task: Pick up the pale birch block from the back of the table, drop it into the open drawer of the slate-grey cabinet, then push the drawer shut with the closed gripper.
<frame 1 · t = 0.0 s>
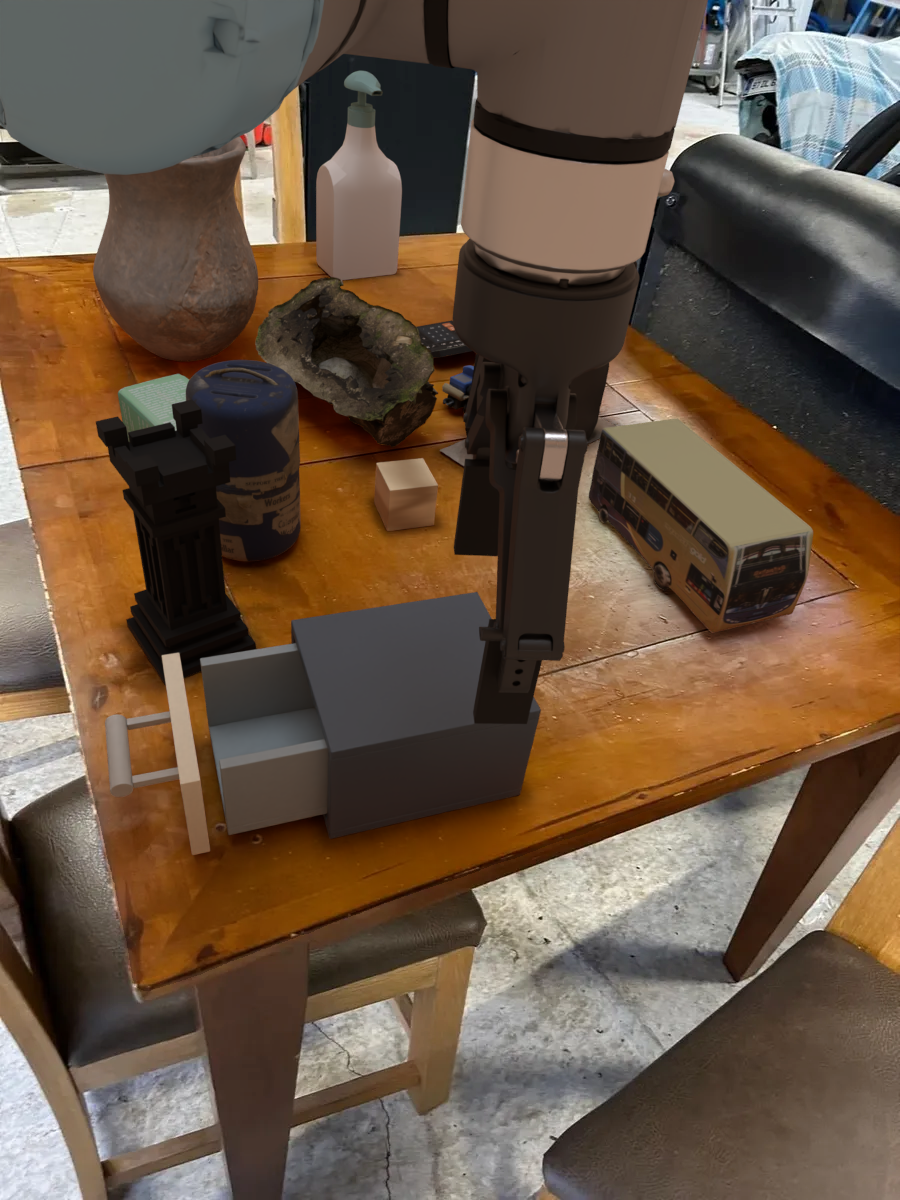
hand: (486, 627, 50), 20 cm above the table, tool pointing down, fingers open, 13 cm apart
cabinet: (403, 750, 69), on the table
hollow geode rock: (348, 414, 106), on the table
canister: (251, 540, 86), on the table
box: (186, 468, 94), on the table
chess piece: (191, 639, 75), on the table
soap bottle: (359, 273, 139), on the table
vase: (186, 351, 114), on the table
block: (403, 514, 92), on the table
drawer: (244, 740, 62), point 5 cm above the table, slide at 8.0 cm
calculator: (445, 349, 122), on the table
shoulder bag: (533, 441, 106), on the table
toy train: (504, 391, 114), on the table
toy bus: (677, 560, 91), on the table
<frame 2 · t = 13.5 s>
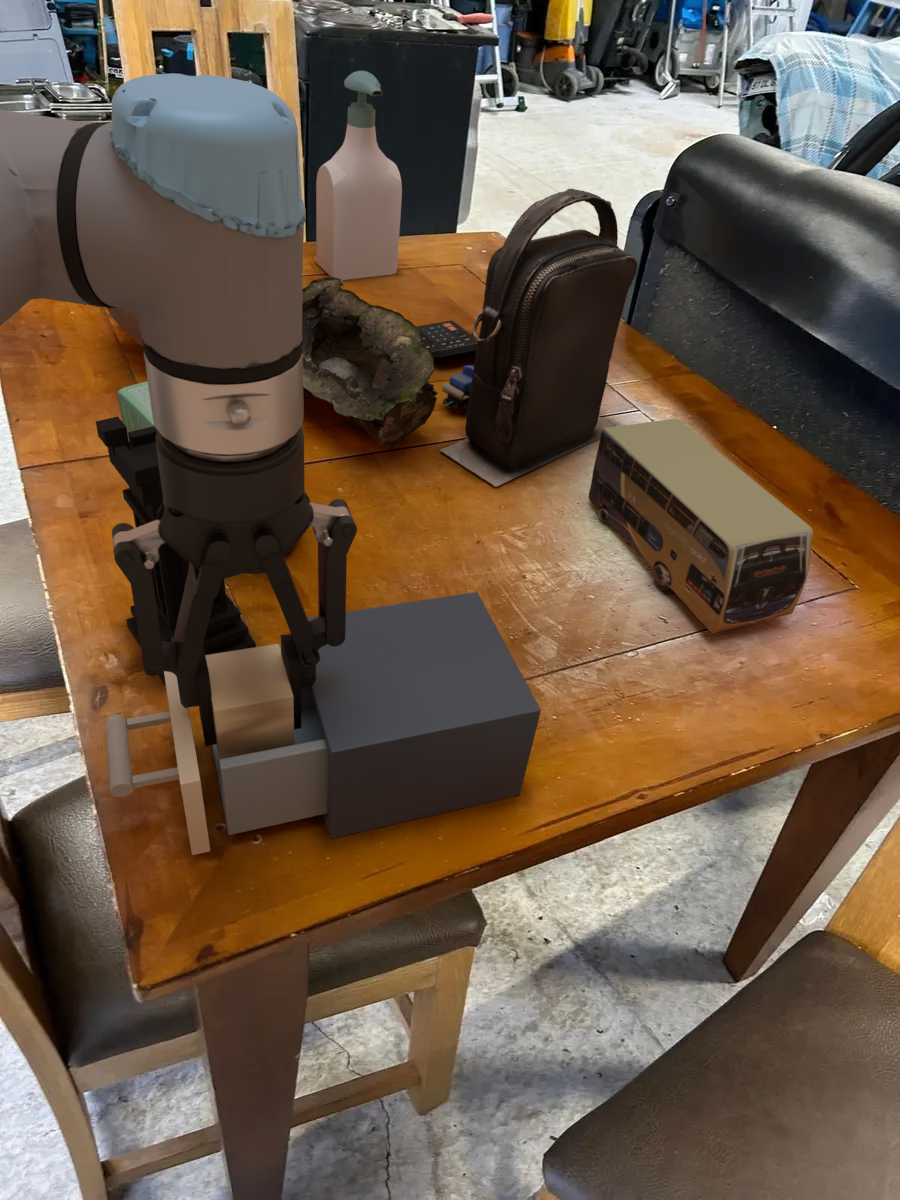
hand: (250, 721, 61), 7 cm above the table, tool pointing down, fingers closed on block, 5 cm apart
block: (251, 725, 61), point 6 cm above the table, touching gripper
everything else where it was.
when the fingers open (9 cm above the table, at t = 23.3 s): block drops 7 cm, resting on drawer.
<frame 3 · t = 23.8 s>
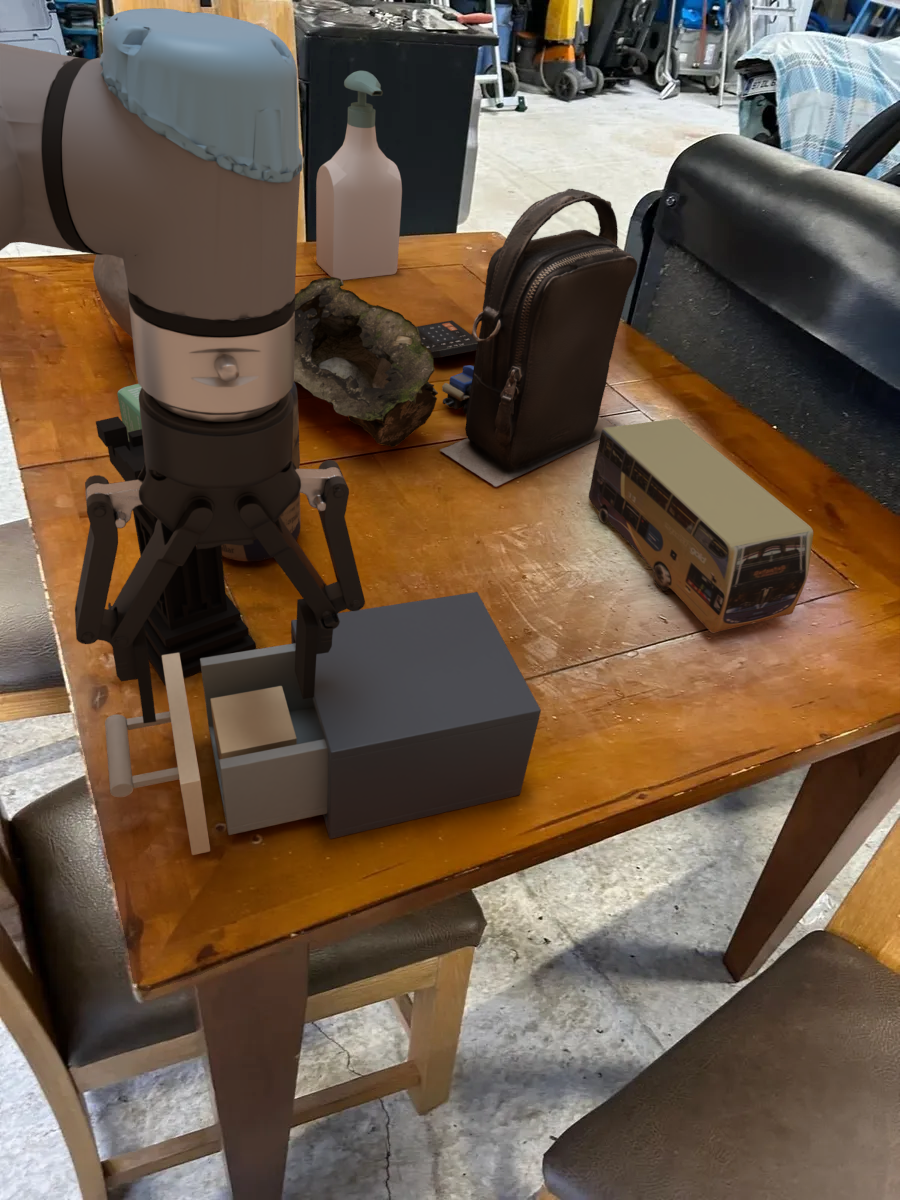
hand: (228, 694, 58), 10 cm above the table, tool pointing down, fingers open, 9 cm apart
block: (256, 763, 64), point 2 cm above the table, touching drawer
drawer: (244, 740, 62), point 5 cm above the table, slide at 8.0 cm, touching block
everything else where it was.
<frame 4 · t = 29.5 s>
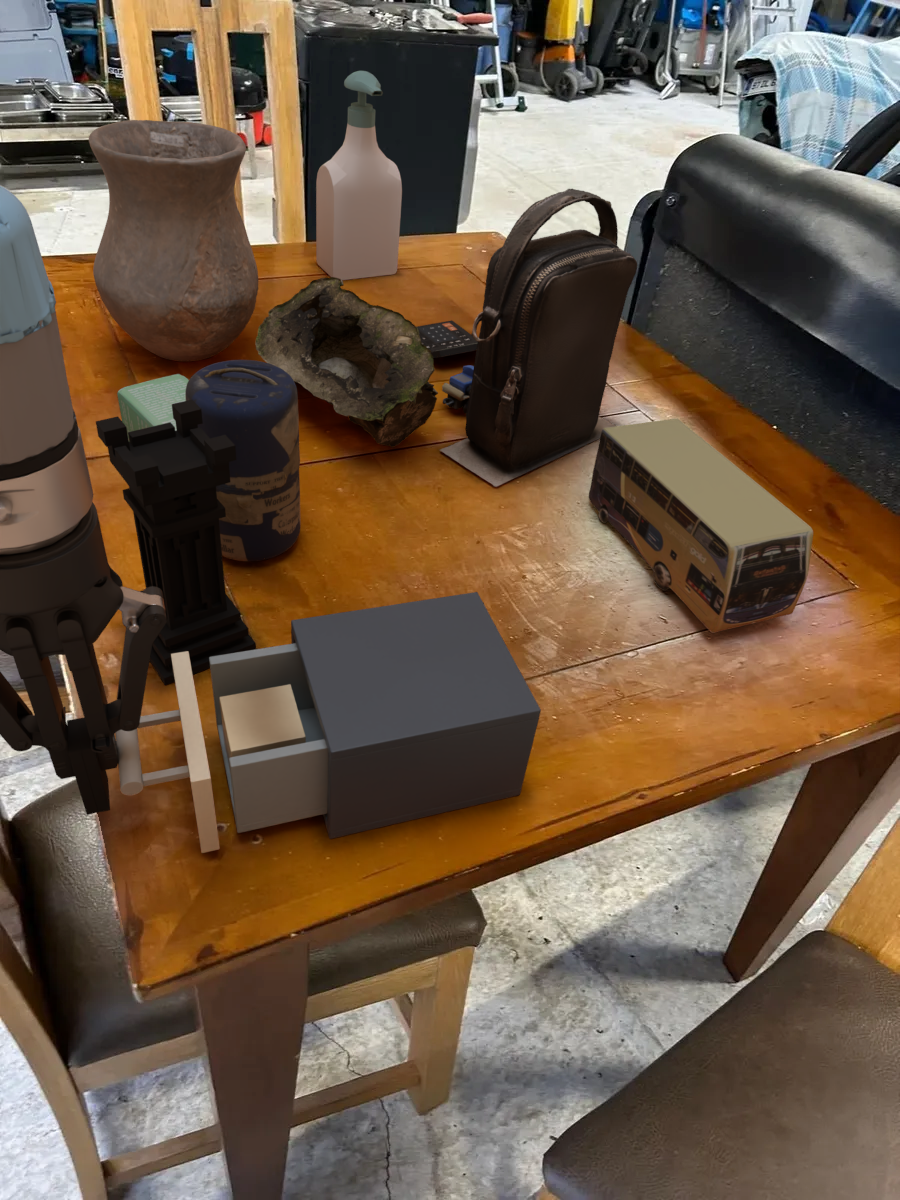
hand: (97, 796, 60), 2 cm above the table, tool pointing down, fingers closed
drawer: (253, 738, 62), point 5 cm above the table, slide at 7.4 cm, touching block, gripper
everything else where it was.
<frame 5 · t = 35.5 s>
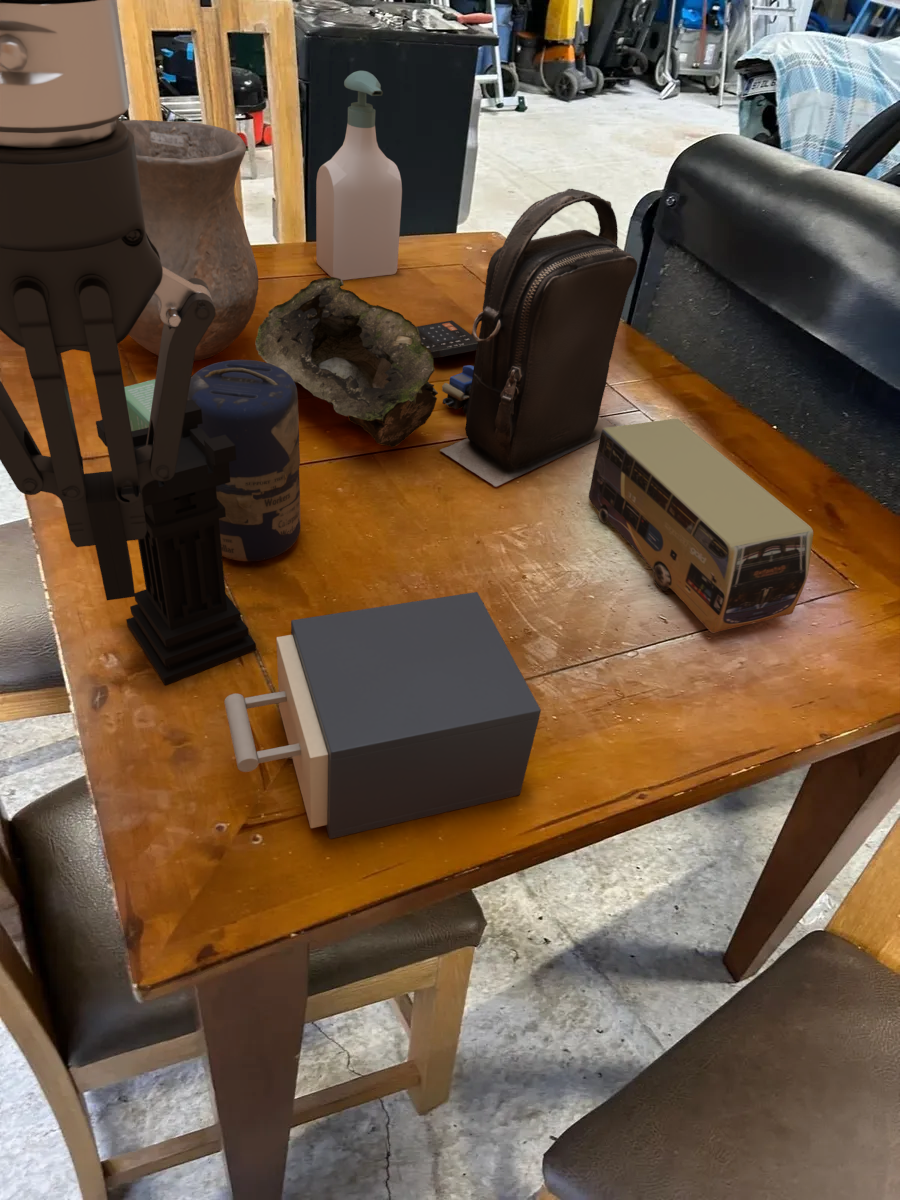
hand: (119, 582, 50), 20 cm above the table, tool pointing down, fingers closed
block: (364, 742, 66), point 2 cm above the table, touching drawer
drawer: (356, 718, 64), point 5 cm above the table, slide at 0.0 cm, touching block, cabinet
everything else where it was.
at the end: block inside the target area in the cabinet (3.2 cm from its centre), point 2.0 cm above the cabinet's base; drawer slide at 0.0 cm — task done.
